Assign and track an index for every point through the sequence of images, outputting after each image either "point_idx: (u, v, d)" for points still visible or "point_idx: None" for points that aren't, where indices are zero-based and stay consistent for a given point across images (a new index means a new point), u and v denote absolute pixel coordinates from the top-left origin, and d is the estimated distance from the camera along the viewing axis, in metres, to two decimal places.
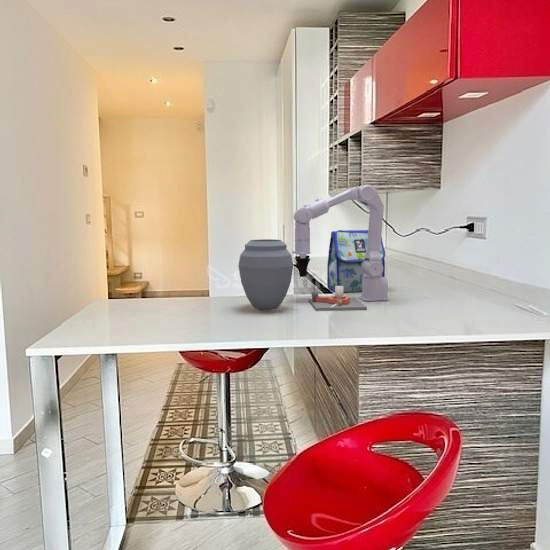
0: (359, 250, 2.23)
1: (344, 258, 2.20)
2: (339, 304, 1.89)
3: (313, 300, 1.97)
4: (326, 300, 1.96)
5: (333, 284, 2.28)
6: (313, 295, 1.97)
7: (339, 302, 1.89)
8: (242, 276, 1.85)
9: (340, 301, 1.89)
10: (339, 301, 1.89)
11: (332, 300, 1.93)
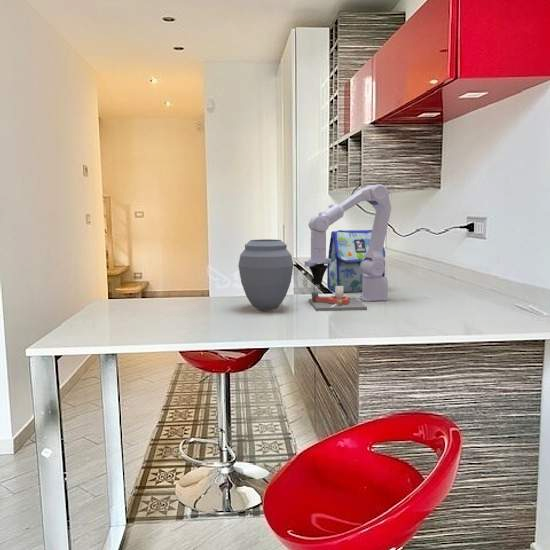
0: (359, 250, 2.23)
1: (344, 258, 2.20)
2: (339, 304, 1.89)
3: (313, 300, 1.97)
4: (326, 300, 1.96)
5: (333, 284, 2.28)
6: (313, 295, 1.97)
7: (339, 302, 1.89)
8: (242, 276, 1.85)
9: (340, 301, 1.89)
10: (339, 301, 1.89)
11: (332, 300, 1.93)
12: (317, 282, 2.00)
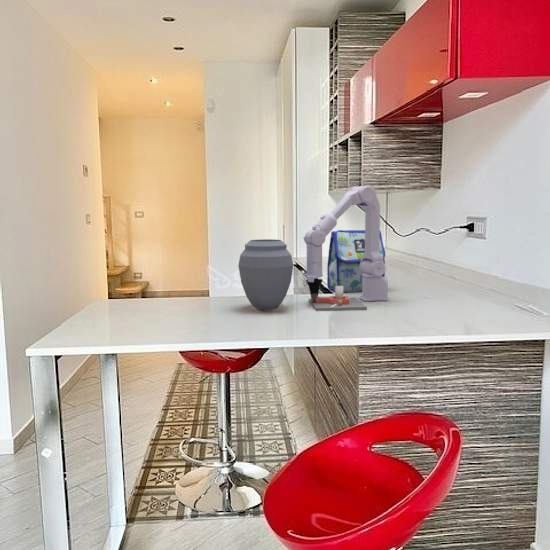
0: (359, 250, 2.23)
1: (344, 258, 2.20)
2: (339, 304, 1.89)
3: (313, 301, 1.96)
4: (326, 300, 1.95)
5: (333, 284, 2.28)
6: (313, 296, 1.95)
7: (339, 302, 1.89)
8: (242, 276, 1.85)
9: (340, 301, 1.89)
10: (339, 301, 1.89)
11: (334, 300, 1.93)
12: None
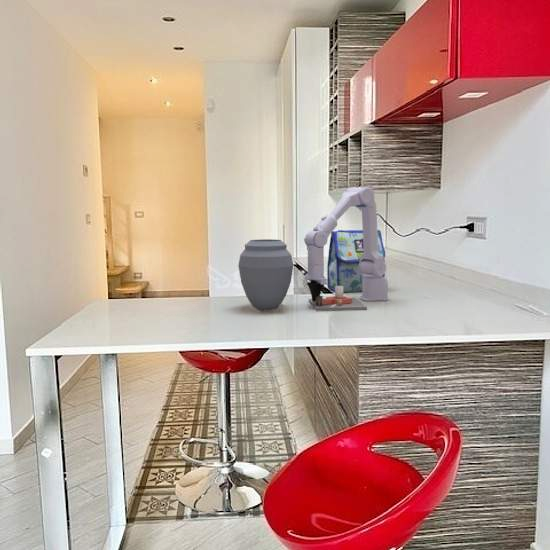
0: (359, 250, 2.23)
1: (344, 258, 2.20)
2: (339, 304, 1.89)
3: (320, 304, 1.90)
4: (331, 302, 1.93)
5: (333, 284, 2.28)
6: (320, 298, 1.90)
7: (339, 302, 1.89)
8: (242, 276, 1.85)
9: (340, 301, 1.89)
10: (339, 301, 1.89)
11: None
12: None
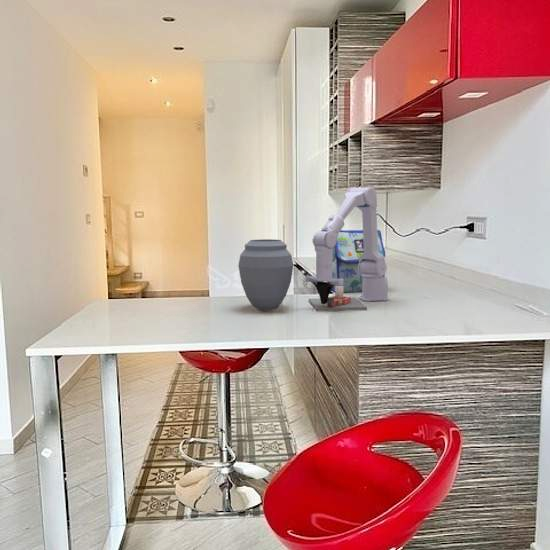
0: (359, 250, 2.23)
1: (344, 258, 2.20)
2: (339, 304, 1.89)
3: (333, 305, 1.87)
4: None
5: (333, 284, 2.28)
6: (333, 300, 1.87)
7: (339, 302, 1.89)
8: (242, 276, 1.85)
9: (340, 301, 1.89)
10: (339, 301, 1.89)
11: (346, 300, 1.93)
12: (325, 301, 1.88)
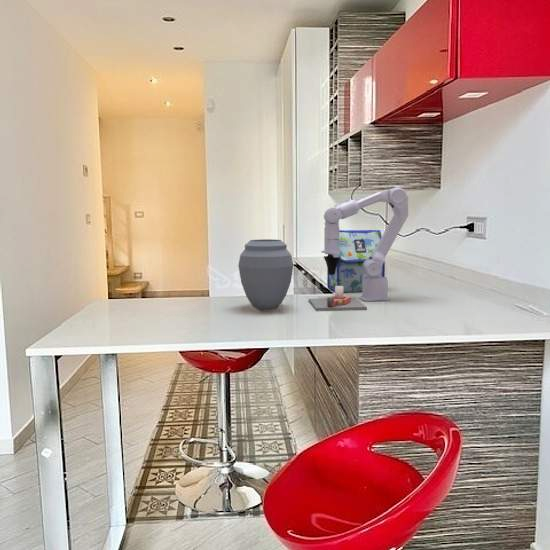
0: (359, 250, 2.23)
1: (344, 258, 2.20)
2: (339, 304, 1.89)
3: (333, 305, 1.87)
4: None
5: (333, 284, 2.28)
6: (333, 300, 1.87)
7: (339, 302, 1.89)
8: (242, 276, 1.85)
9: (340, 301, 1.89)
10: (339, 301, 1.89)
11: (346, 300, 1.93)
12: (332, 272, 2.07)
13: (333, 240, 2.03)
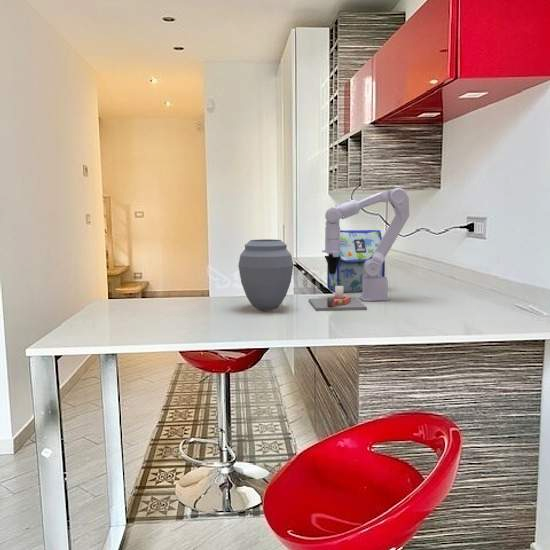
0: (359, 250, 2.23)
1: (344, 258, 2.20)
2: (339, 304, 1.89)
3: (333, 305, 1.87)
4: None
5: (333, 284, 2.28)
6: (333, 300, 1.87)
7: (339, 302, 1.89)
8: (242, 276, 1.85)
9: (340, 301, 1.89)
10: (339, 301, 1.89)
11: (346, 300, 1.93)
12: (333, 272, 2.08)
13: (333, 240, 2.04)
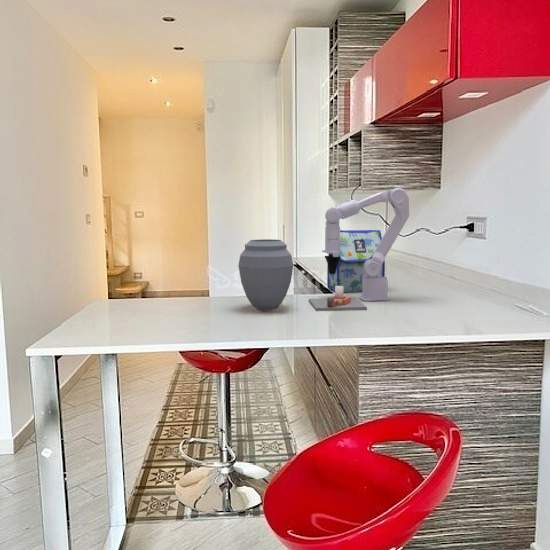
0: (359, 250, 2.23)
1: (344, 258, 2.20)
2: (339, 304, 1.89)
3: (333, 305, 1.87)
4: None
5: (333, 284, 2.28)
6: (333, 300, 1.87)
7: (339, 302, 1.89)
8: (242, 276, 1.85)
9: (340, 301, 1.89)
10: (339, 301, 1.89)
11: (346, 300, 1.93)
12: (333, 272, 2.08)
13: (333, 240, 2.04)
